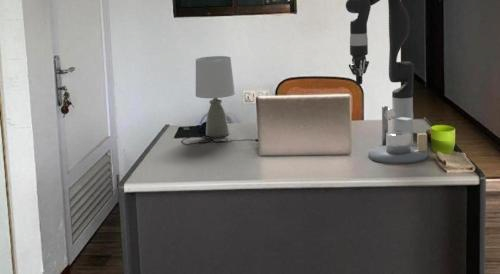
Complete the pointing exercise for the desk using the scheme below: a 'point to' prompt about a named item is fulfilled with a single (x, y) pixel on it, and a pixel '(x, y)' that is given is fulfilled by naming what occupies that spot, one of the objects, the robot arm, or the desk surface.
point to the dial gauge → (386, 122)
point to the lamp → (215, 90)
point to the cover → (398, 143)
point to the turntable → (416, 155)
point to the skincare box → (405, 126)
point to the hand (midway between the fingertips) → (359, 84)
